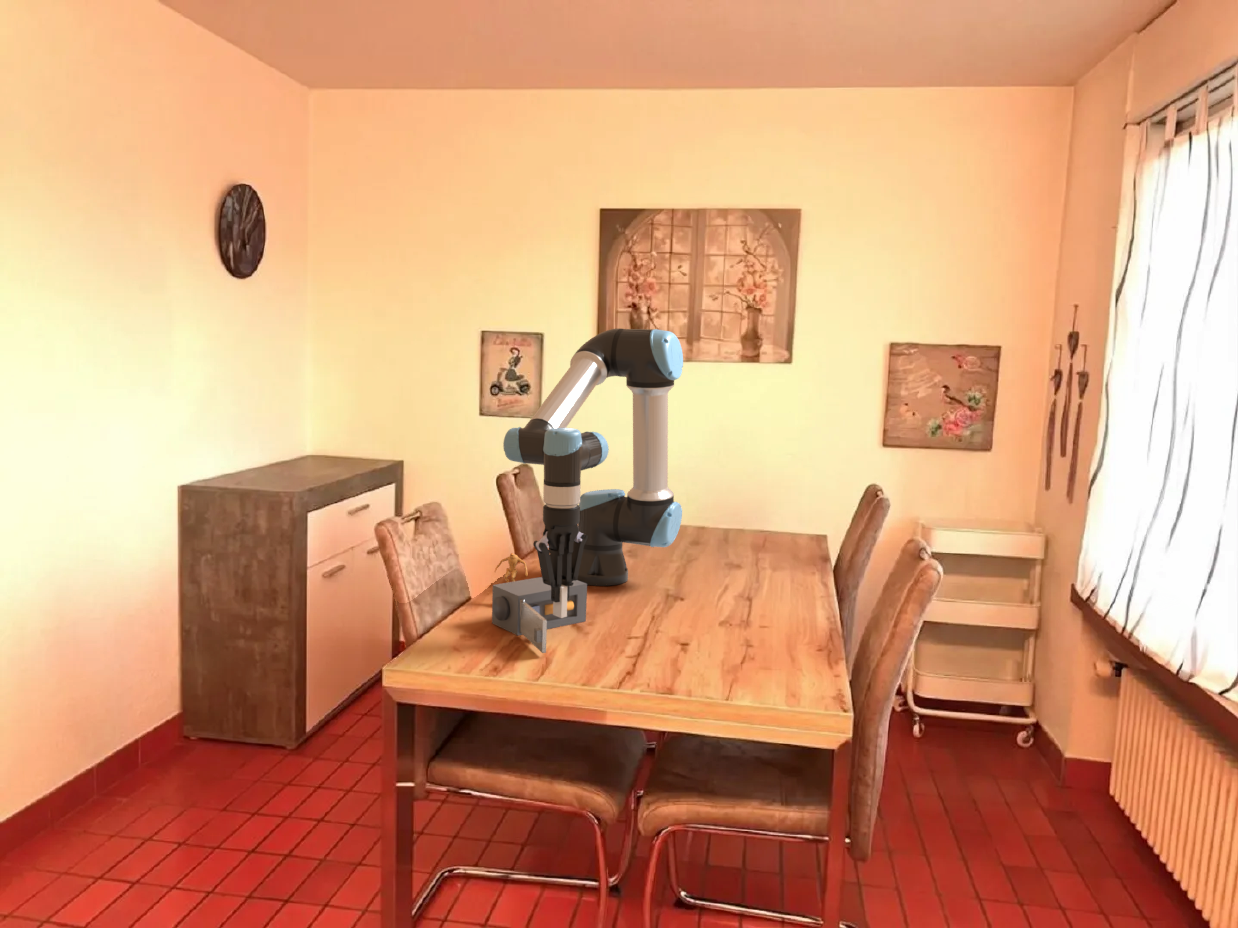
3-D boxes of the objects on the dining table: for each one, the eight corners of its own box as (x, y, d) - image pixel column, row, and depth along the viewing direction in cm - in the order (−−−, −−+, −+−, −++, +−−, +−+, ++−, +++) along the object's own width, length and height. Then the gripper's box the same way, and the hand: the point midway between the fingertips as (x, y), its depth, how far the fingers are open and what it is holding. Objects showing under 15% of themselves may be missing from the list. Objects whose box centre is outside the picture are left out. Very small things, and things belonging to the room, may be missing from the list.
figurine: (487, 605, 215) (488, 554, 213) (498, 598, 221) (499, 549, 219) (520, 609, 213) (521, 558, 211) (531, 603, 218) (532, 553, 217)
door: (546, 654, 182) (547, 618, 181) (537, 655, 181) (538, 619, 180) (523, 631, 195) (523, 598, 194) (514, 632, 194) (515, 599, 193)
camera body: (559, 610, 213) (560, 573, 212) (586, 621, 206) (587, 583, 205) (487, 624, 201) (488, 585, 200) (513, 636, 194) (514, 596, 193)
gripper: (573, 497, 197) (571, 605, 201) (524, 505, 188) (523, 617, 192) (597, 503, 191) (595, 613, 195) (548, 511, 182) (547, 627, 186)
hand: (559, 615), depth 193 cm, fingers closed
